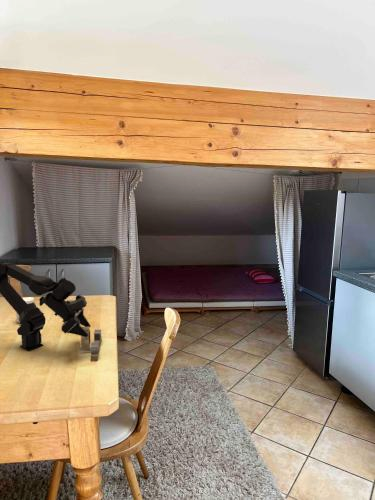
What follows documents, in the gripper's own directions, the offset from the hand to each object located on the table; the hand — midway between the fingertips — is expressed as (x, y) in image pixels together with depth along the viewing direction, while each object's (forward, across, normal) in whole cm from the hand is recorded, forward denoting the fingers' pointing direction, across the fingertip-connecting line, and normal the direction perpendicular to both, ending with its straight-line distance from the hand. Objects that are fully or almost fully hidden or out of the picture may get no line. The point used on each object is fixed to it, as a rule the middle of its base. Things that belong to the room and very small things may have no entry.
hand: (88, 331), depth 135 cm
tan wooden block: (+4, 0, +6) cm, 8 cm away
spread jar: (-16, +34, +27) cm, 46 cm away
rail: (+6, 0, +5) cm, 8 cm away
